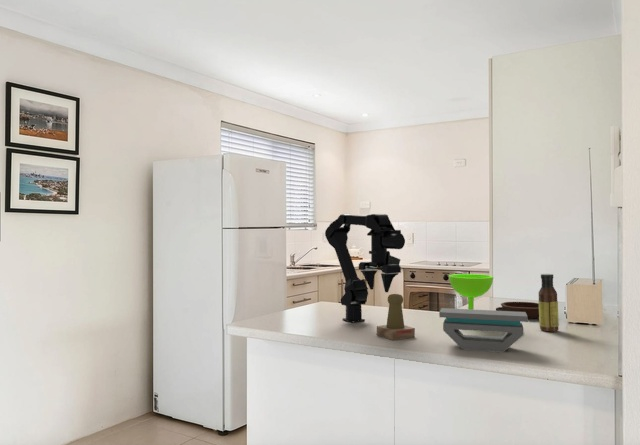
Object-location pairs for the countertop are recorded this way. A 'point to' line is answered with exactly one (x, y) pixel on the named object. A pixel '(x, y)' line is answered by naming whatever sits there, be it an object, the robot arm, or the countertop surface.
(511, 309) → the dish
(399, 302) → the olive tall rounded piece
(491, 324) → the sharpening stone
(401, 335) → the tan flat block
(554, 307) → the sauce bottle
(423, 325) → the countertop surface
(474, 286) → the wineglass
